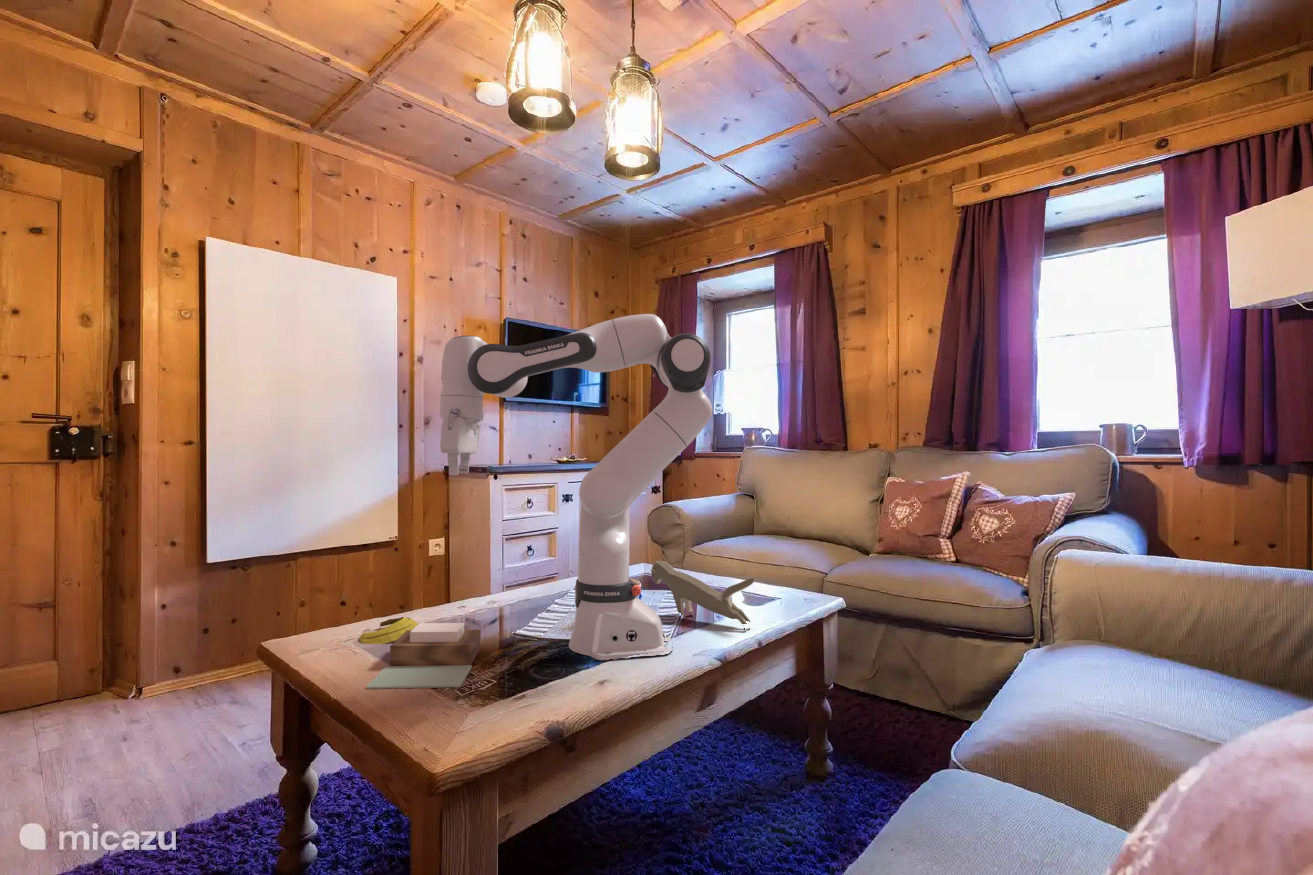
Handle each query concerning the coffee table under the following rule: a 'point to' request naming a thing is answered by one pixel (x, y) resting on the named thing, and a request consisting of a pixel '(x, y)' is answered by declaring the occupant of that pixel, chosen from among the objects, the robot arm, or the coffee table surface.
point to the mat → (420, 677)
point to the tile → (437, 632)
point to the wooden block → (435, 651)
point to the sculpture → (699, 592)
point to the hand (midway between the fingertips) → (459, 474)
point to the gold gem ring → (389, 631)
